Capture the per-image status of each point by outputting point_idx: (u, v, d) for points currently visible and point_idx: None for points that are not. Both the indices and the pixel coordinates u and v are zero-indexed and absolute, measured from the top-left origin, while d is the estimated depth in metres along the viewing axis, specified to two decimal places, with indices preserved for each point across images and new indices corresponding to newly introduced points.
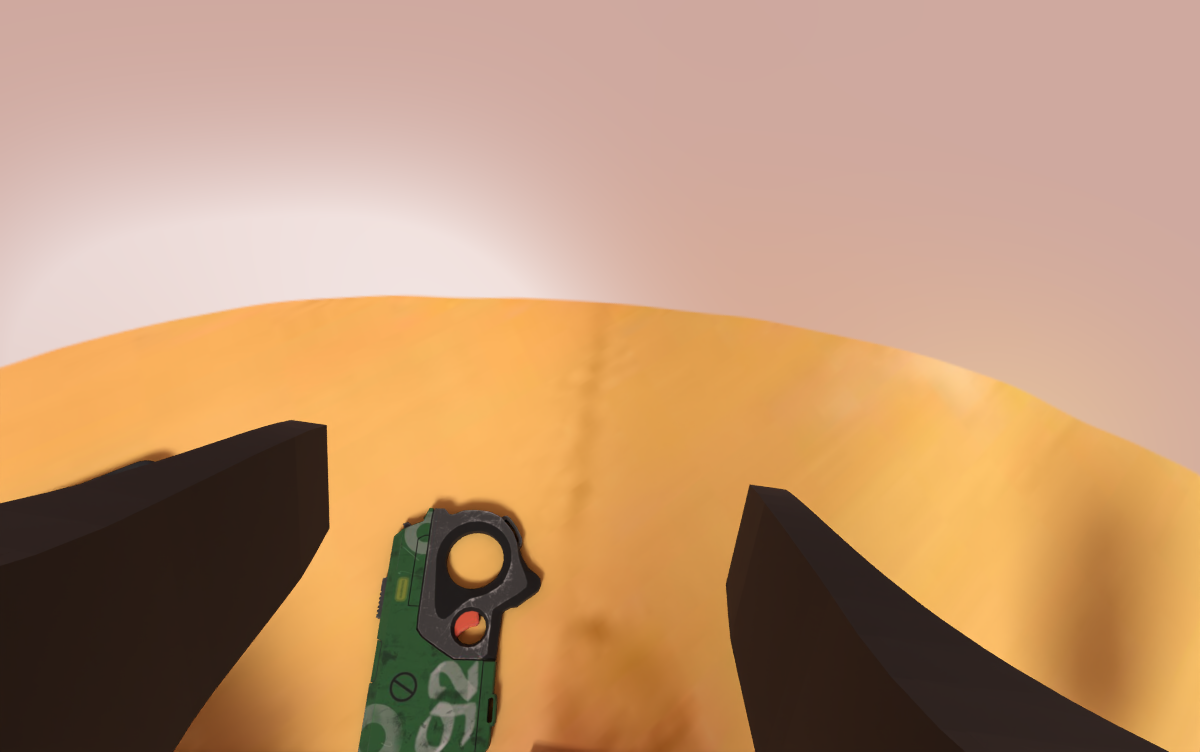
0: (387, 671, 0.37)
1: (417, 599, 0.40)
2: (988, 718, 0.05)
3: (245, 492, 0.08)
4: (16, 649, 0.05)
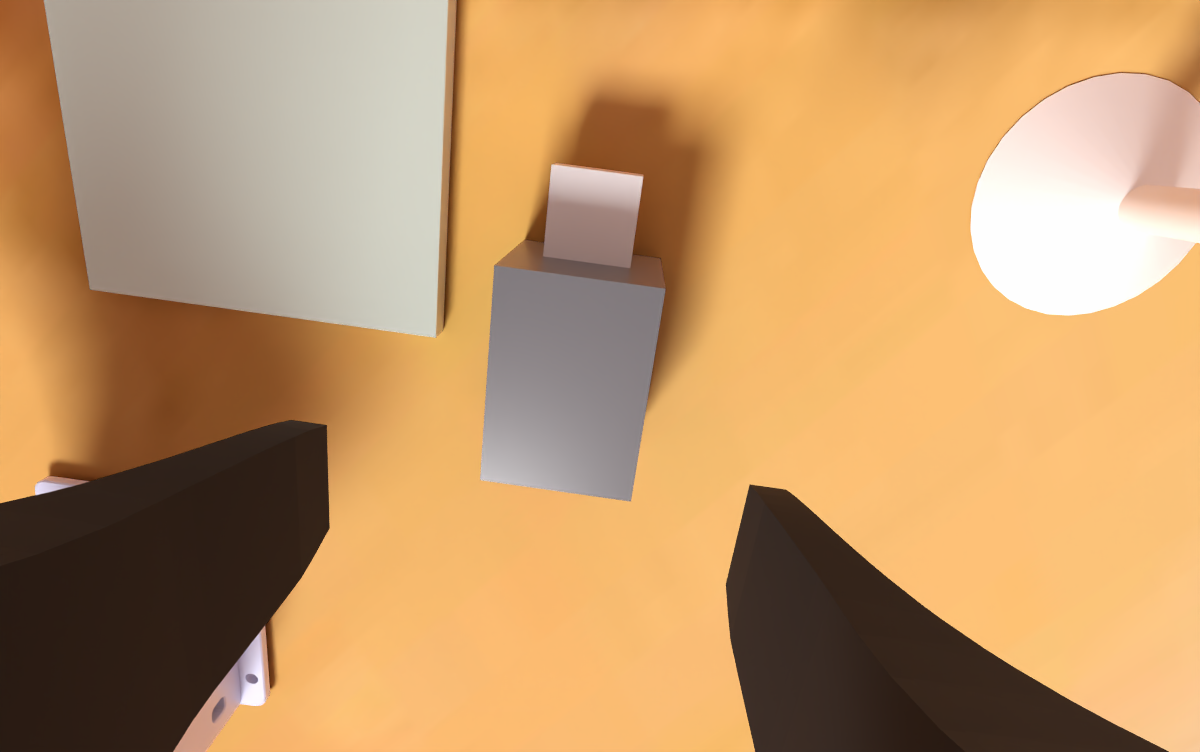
0: None
1: None
2: (989, 718, 0.05)
3: (245, 492, 0.08)
4: (16, 649, 0.05)
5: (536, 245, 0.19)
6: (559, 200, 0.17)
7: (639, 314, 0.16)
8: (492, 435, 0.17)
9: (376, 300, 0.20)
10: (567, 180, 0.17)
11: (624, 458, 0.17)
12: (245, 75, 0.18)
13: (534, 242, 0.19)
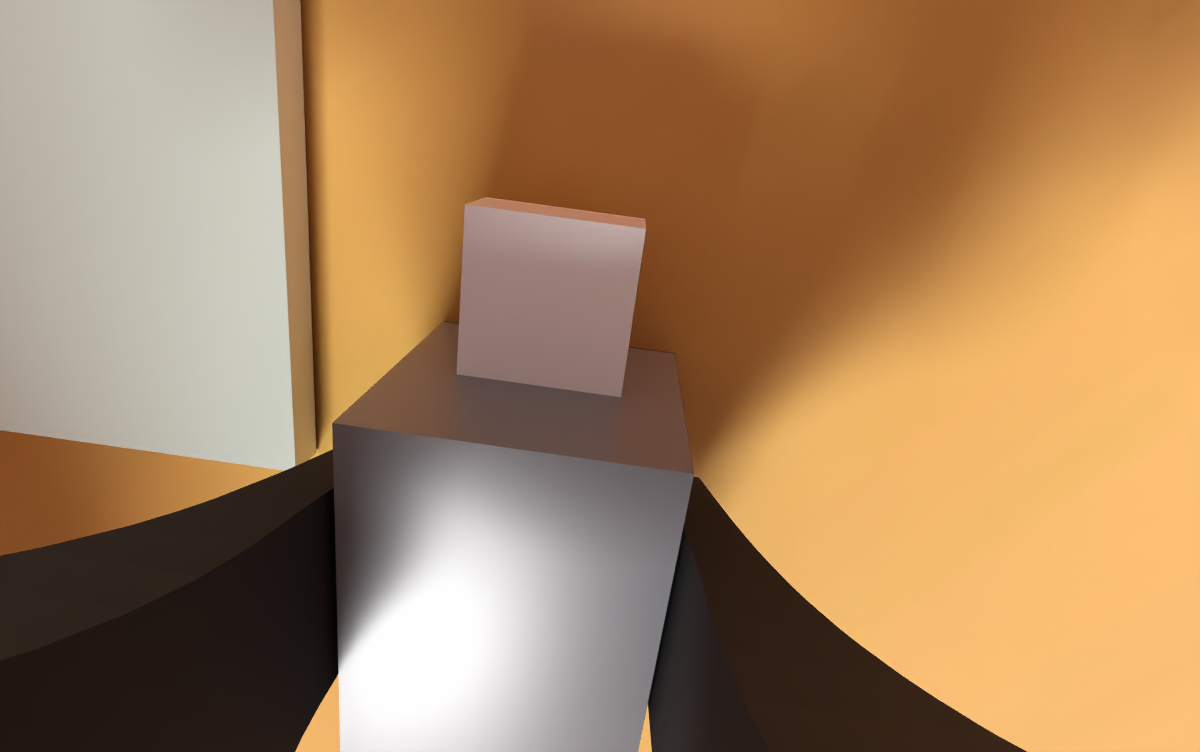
0: None
1: None
2: (804, 692, 0.05)
3: None
4: (180, 673, 0.05)
5: (456, 338, 0.11)
6: (483, 273, 0.09)
7: (638, 521, 0.08)
8: (357, 720, 0.09)
9: (191, 412, 0.11)
10: (495, 235, 0.08)
11: None
12: None
13: (456, 330, 0.11)
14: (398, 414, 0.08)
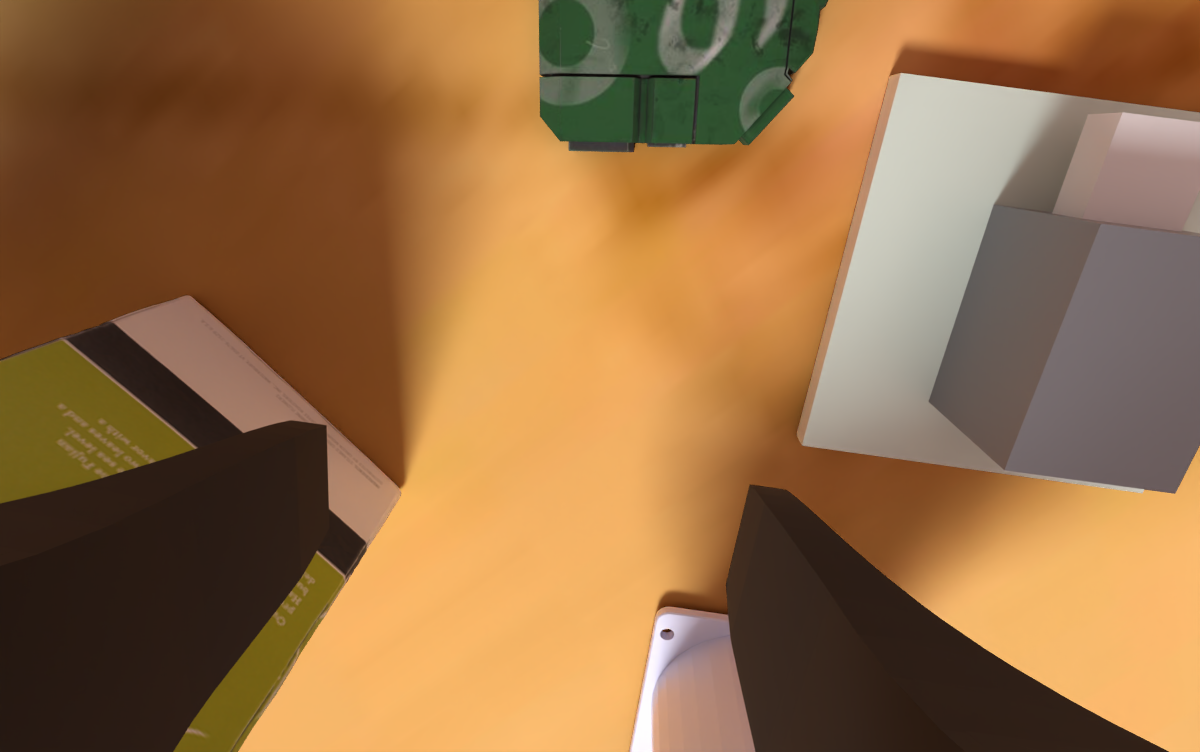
0: None
1: None
2: (989, 717, 0.05)
3: (245, 492, 0.08)
4: (16, 650, 0.05)
5: (1027, 209, 0.17)
6: (1120, 154, 0.15)
7: None
8: (1035, 419, 0.15)
9: None
10: (1135, 130, 0.15)
11: (1185, 444, 0.15)
12: None
13: (1014, 207, 0.17)
14: (1114, 224, 0.14)
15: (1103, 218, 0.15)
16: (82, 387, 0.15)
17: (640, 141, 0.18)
